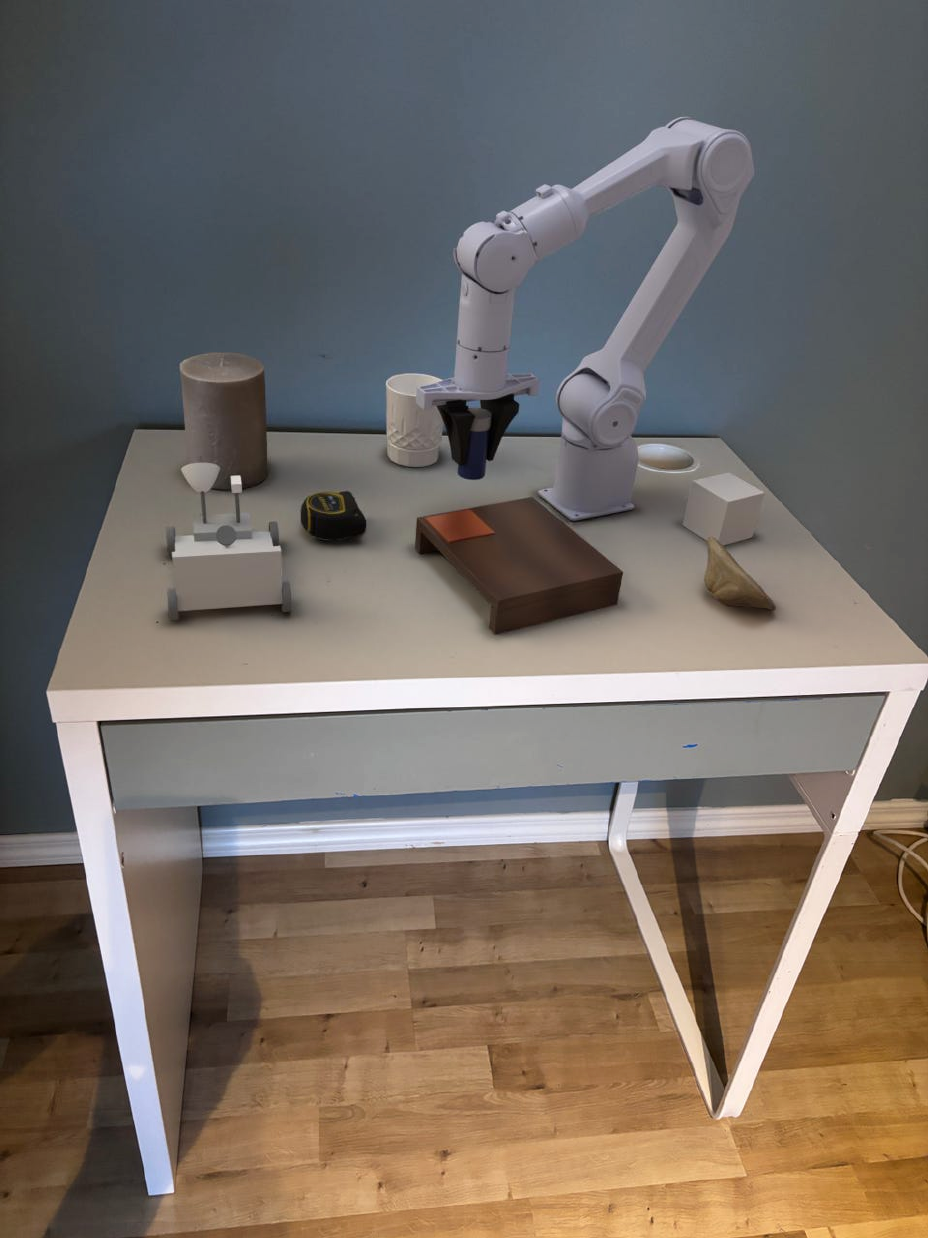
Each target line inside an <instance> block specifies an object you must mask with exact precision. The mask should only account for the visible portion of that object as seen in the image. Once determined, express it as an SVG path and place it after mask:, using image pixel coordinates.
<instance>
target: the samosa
mask: <svg viewBox="0 0 928 1238" xmlns="http://www.w3.org/2000/svg"><path fill="white" fill-rule="evenodd" d="M706 545H707V564H706V565H707V566H706V569H705V571H704V578H703V581H704V584H705V587H706V589H707V590H708V591H709V592H710V593H711V594H712V595H713V597H714V598H715V599H716V600H717V601H719V602H720V603H722V604H724V605H726V606H741V607H742V606H743V607H751V608H758V609H763V608H765V609H767V610H770V611H775V610H777V606H776V604H775V602H774V600H773V599H772V598H771V597H770V596H769V595H768V593H766V591H765V590H764V589H763V588H762V586H760V585H759V584H758V582H757V581H756V580H755V579H754V578H753V577H751V575H750V574H748V573H747V572H746V570H744V568H743V567H742V566H740V564H739V563H738V562H737V561H736V559H735V558H734V557H733V556H732V554H731V553H730V552H729V551H728V550H727V549H726V548H725V546H724V545H722V544H721V543H719V541H718V540H716V539H715V538H714V537H711V536H710V537H708V539H707V541H706Z"/></svg>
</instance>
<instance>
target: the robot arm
mask: <svg viewBox="0 0 928 1238" xmlns="http://www.w3.org/2000/svg"><path fill="white" fill-rule="evenodd" d="M755 172H756V171H755V167H754V160H753V154H752V147H751V144H750V142H749V140H748V138H747V137H746V135H745V134H743V133H742V132H741V131H738V130H735V129H729V128H728V129H725V128H722V127H718V126H715V125H712V124H708V123H705V122H702V121H698V120H697V119H696V118H692V117H689V116H680V117H677V118H675V119H673V120H671V121H669V122H668V123H667V124H666V125H665V126H660V127H657V128H655V129H652V130H651V132H650V133H649V134H648V135H647V136H646V138H645V139H644V140H643V141H642V142H640V143H638V145H636V146H634V147H633V148H632V149H630V150H628V151H627V152H625V153H624V154H623V155H620V157H618V158H617V159H615V160H614V161H612V162H610V163H609V164H607V165H606V166H604V167H603V168H601V169H600V170H598V171H597V172H595V173H594V174H592V175H591V176H589V177H588V178H586V179H585V180H583V181H582V182H580V183H579V184H578V185H576V186H575V187H572V188H569V187H568V186H564V185H562V184H554V185H552V186H550V185H548V184H546V183H545V184H542V185H541V186H539V187H537V188H536V189H535V194H536V196H534V197H532V198H530V199H528V200H527V201H525V202H523V203H522V204H520V205H518V206H516V207H515V208H513V209H511V210H509V211H508V212H507V211H505V210H502V211H500V212H498V213H497V214H496V215H495V218H496V219H495V220H494V223H493V222H491V221H487V222H485V221H479V222H476V223H473V224H472V225H470V226H469V227H468V228H466V230H464V231H463V233H462V234H463V235H462V237H460V238H459V240H458V243H457V247H454V248H453V250H452V251H453V259H454V263H455V265H456V267H457V269H458V270H459V272H460V274H461V283H460V284H461V285H460V295H459V306H458V318H457V330H456V331H457V333H456V346H455V348H456V349H455V358H454V359H455V361H454V372H453V373H454V375H453V376H452V377H449V378H445V379H441V380H442V381H439V382H436V383H433V384H429V385H425V386H419V387H417V392H416V404H417V405H418V406H420V407H421V408H422V409H423V410H427V409H432V406H437V408H438V410H439V412H440V415H441V417H442V419H443V422H444V425H443V426H444V428H445V431H446V434H447V438H448V444H449V449H450V455H451V460H452V461H453V462H455V464H457V466H458V465H460V466H461V465H465V463H466V459H467V449H468V439H469V434H470V430H471V427H472V424H473V421H474V419H475V415H474V414H473V413H471V412H470V411H469V410H468V408H470V406H469V405H467V403H469V402H477V401H479V404H480V408H482V409H485V410H488V411H489V412H491V414H492V417H491V427H490V429H489V439H488V449H487V460H486V461H487V462H491V461H494V459H495V456H496V453H497V451H498V449H499V446H500V443H501V441H502V438H503V436H504V435H505V433H506V431H507V429H508V427H509V426H510V424H511V423H512V422H513V420H514V419H515V418H516V416H517V415H518V414H519V411H520V403H519V402H518V401H517V400H515V397H517V396H524V395H527V396H529V397H534V396H535V397H537V396H538V395H539V387H540V381H541V380H540V378H538V377H537V376H535V374H533V373H531V372H530V373H508V364H509V356H510V346H511V334H512V326H513V318H514V317H513V316H514V306H515V296H516V295H515V294H516V288H518V287H519V286H520V285H521V284H522V283H523V281H524V280H525V278H526V277H527V274H528V272H529V270H530V269H531V268H532V267H533V266H534V265H536V264H537V263H540V262H541V261H542V260H544V259H546V258H547V257H549V256H551V255H552V254H554V253H556V252H558V251H560V250H561V249H562V248H565V247H566V246H568V245H569V244H572V243H573V242H575V241H576V240H579V239H580V238H581V237H582V236H583V234H584V232H585V229H586V225H587V223H588V220H589V219H591V218H594V217H595V216H598V215H600V214H602V213H603V212H605V211H608V210H609V209H611V208H613V207H615V206H617V205H619V204H621V203H623V202H625V201H627V200H629V199H631V198H633V197H635V196H637V195H639V194H641V193H642V192H645V191H646V190H648V189H651V188H653V187H663V188H667V190H668V192H669V194H670V196H671V198H672V199H673V203H674V208H675V213H676V217H677V222H676V223H677V224H676V225H675V228H674V229H673V231H672V232H671V234H670V236H669V237H668V239H667V240H666V242H665V244H664V246H663V247H662V249H661V251H660V253H659V254H658V256H657V258H656V259H655V261H654V262H653V264H652V265H651V268H650V269H649V271H648V272H647V274H646V276H645V277H644V279H643V281H642V283H641V284H640V286H639V287H638V289H637V291H636V292H635V294H634V295H633V298H631V301H630V303H629V305H628V306H627V307H626V309H625V311H624V312H623V314H622V316H621V318H620V320H619V321H618V323H617V324H616V326H615V328H614V329H613V331H612V332H611V335H610V336H609V337H608V339H607V340H606V343H605V345H604V346H603V347H602V349H599V350H597V351H595V352H593V353H590V354H588V355H585V356H584V357H583V358H582V360H581V362H580V363H579V365H578V366H577V368H575V370H573V372H571V373H570V374H568V375H567V376H566V377H565V378H564V379H563V380H562V381H561V382H560V384H559V386H558V388H557V390H556V392H555V406H556V409H557V411H558V413H559V414H560V415H561V416H562V419H561V434H560V441H559V448H558V453H557V462H556V468H555V474H554V481H553V487H548V488H542V489H539V490H538V493H537V494H538V495H539V496H540V497H542V498H543V499H544V500H545V501H546V502H547V503H549V504H550V505H551V506H552V507H553V508H555V509H556V510H557V511H559V512H560V513H561V514H562V515H563V516H565V518H567V519H568V520H570V521H571V522H572V521H573V522H575V521H580V520H585V519H591V518H595V517H601V516H606V515H610V514H612V515H613V514H616V513H621V512H626V511H632V510H634V508H635V505H634V504H633V503H632V502H631V501H632V496H633V490H634V485H635V481H636V476H637V470H638V466H639V465H638V464H639V450H638V446H637V443H636V441H635V439H634V437H633V436H632V434H633V433H634V432H635V429H636V427H637V424H638V418H639V414H640V411H641V408H642V407H643V405H644V403H645V401H646V400H647V390H646V384H645V383H646V382H645V378H644V377H645V376H644V373H645V372H646V370H647V368H648V367H649V365H650V363H651V362H652V360H653V359H654V357H655V355H656V354H657V352H658V351H659V349H660V348H661V345H663V342H664V341H665V339H666V338H667V336H668V334H669V333H670V331H671V330H672V329H673V327H674V325H675V323H676V321H677V320H678V318H679V316H680V315H681V313H682V311H683V310H684V308H685V307H686V305H687V303H689V300H690V299H691V297H692V296H693V294H694V293H695V291H696V289H697V287H698V286H699V284H700V282H701V281H702V280H703V278H704V276H705V275H706V272H708V269H709V268H710V266H711V264H712V263H713V262H714V260H715V258H716V256H717V255H718V253H719V252H720V250H721V249H722V247H723V245H725V242H726V240H728V237H729V235H730V233H731V232H732V230H733V227H734V222H735V219H736V216H737V213H738V212H737V211H738V208H739V203H740V200H741V197H742V195H743V194H744V192H745V190H746V189H747V187H748V186H749V184H750V182H751V181H752V180H753V178H754V176H755Z"/></svg>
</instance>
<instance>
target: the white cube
mask: <svg viewBox="0 0 928 1238" xmlns="http://www.w3.org/2000/svg"><path fill="white" fill-rule="evenodd" d="M765 494H766V493H765V492H764V491H762V490H761V489H759V488H757V487H755V486H753V485H752V484H750V483H748V482H747V481H745V480H743V479H742V478H740V477H737V476H736V475H734V474H733V473H731V472H729V471H728V472H723V473H720V474H715V475H711V476H706V477H701V478H697V479H693V480H692V481H691V486H690V490H689V494H688V498H687V503H686V507H685V512H684V516H683V520H682V526H683V527H685V528H686V529H688V530H689V531H691V532H692V533H693V534H695V535H697V536H699V537H700V538H701V539H703V540H705V541H706V542H707V539H708V537H710V536H711V537H714V538H715V539H716V540H718V541H719V543H721V544H722V545H723V546H726V545H730V544H734V543H737V542H740V541H745V540H747V539H751V538H753V536H754V533H755V529H756V527H757V524H758V523H757V522H758V518H759V515H760V512H761V508H762V505H763V501H764V497H765Z"/></svg>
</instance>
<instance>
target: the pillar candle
mask: <svg viewBox="0 0 928 1238" xmlns="http://www.w3.org/2000/svg"><path fill="white" fill-rule="evenodd" d="M179 373H180V383H181V384H180V385H181V395H182V408H183V419H184V420H183V421H184V432H185V433H184V434H185V441H186V442H185V444H186V454H187V455H186V456H187V465H188V464H192V463H198V456H202V463H212V464H215V465H218V466H219V467H220V470H219V473H218V476H217V478H216V480H215V482H214V484H213V486H212V487H211V489H213V490H224V491H225V490H226V491H232V488H231V476H234V475H237V476H240V477H241V484H242V489H245V488H246V489H247V488H249V487H252V486H255V485H257V484H259V483H261V482H263V481H264V480H266V479H267V477H268V475H269V469H268V436H267V435H268V433H267V431H268V428H267V406H266V404H267V402H266V401H267V400H266V399H267V398H266V378H265V367H264V364H263V363H262V361H260V360H258V359H257V358H255V357H253V356H250V355H247V354H244V353H243V354H242V353H236V352H207V353H202V354H201V353H200V354H197V355H194V356H191V357H188V358H186V359H183V360H182V361H181V362H180V364H179Z"/></svg>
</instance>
